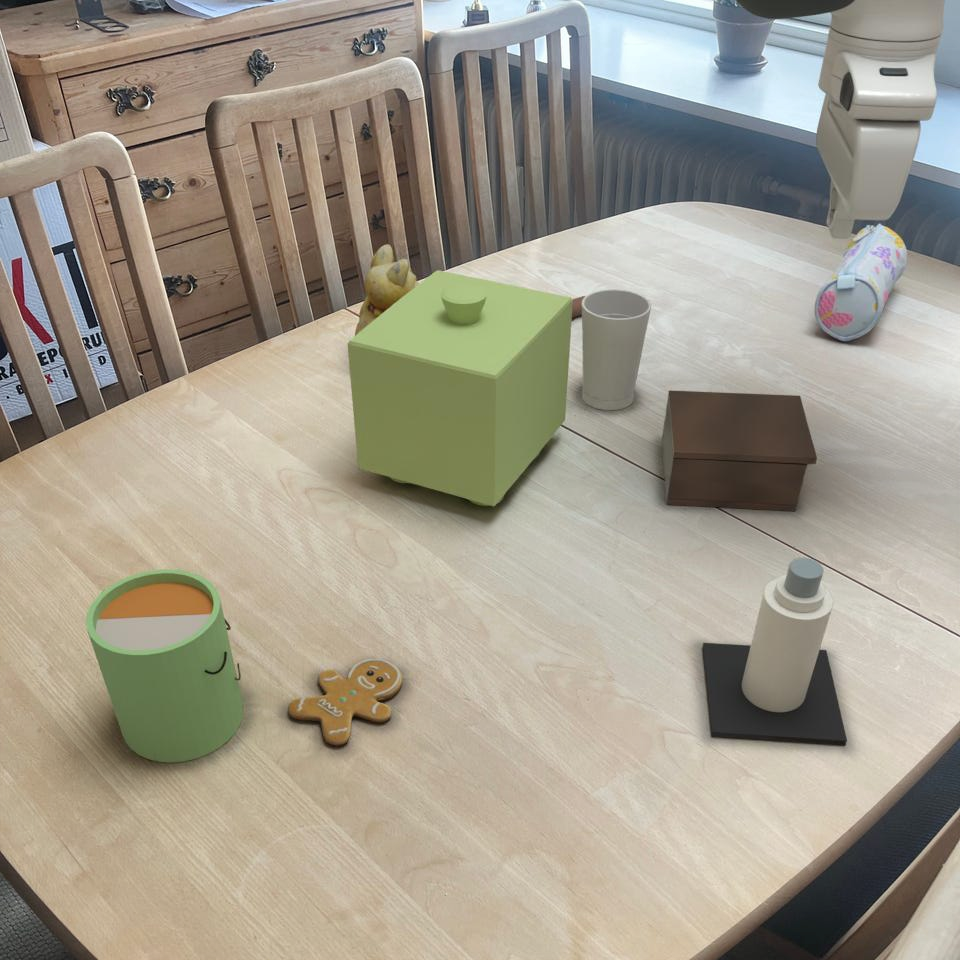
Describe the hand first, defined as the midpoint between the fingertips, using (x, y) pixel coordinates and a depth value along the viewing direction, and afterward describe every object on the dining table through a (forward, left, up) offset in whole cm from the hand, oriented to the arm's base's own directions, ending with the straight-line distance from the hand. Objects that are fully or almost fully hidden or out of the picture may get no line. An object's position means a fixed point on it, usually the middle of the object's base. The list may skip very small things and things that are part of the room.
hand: (837, 232), depth 97 cm
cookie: (+41, +38, -27) cm, 62 cm away
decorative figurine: (+47, -21, -27) cm, 58 cm away
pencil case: (-15, -42, -27) cm, 52 cm away
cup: (+19, -16, -27) cm, 37 cm away
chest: (+6, 0, -27) cm, 28 cm away
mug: (+55, +40, -27) cm, 73 cm away
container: (+35, 0, -27) cm, 44 cm away
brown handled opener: (+30, -33, -27) cm, 52 cm away
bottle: (+5, +34, -26) cm, 43 cm away
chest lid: (+6, 0, -21) cm, 22 cm away
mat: (+5, +34, -27) cm, 44 cm away
